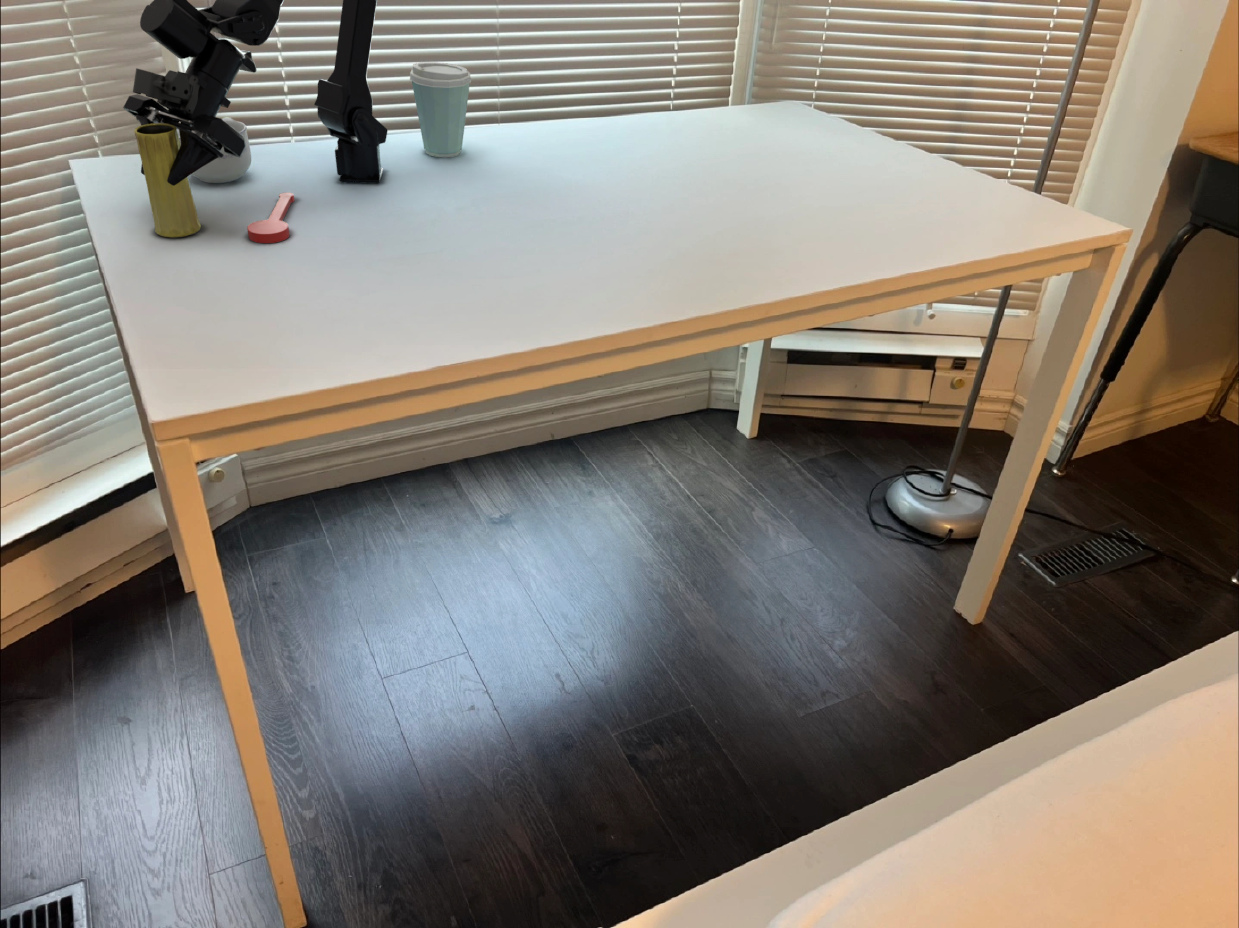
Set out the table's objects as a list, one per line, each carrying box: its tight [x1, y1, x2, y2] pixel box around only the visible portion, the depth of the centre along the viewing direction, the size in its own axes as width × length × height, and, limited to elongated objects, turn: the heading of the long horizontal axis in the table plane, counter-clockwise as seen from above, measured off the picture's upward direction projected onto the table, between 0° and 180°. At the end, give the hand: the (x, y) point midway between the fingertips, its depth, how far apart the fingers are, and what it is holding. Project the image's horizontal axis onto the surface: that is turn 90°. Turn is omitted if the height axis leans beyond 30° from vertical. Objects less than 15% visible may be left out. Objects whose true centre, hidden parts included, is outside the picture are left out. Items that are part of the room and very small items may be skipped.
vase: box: [133, 123, 202, 238], centre depth 132 cm, size 6×6×14 cm
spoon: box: [246, 191, 296, 244], centre depth 142 cm, size 6×18×1 cm, turn 6°
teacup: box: [177, 117, 252, 184], centre depth 154 cm, size 14×11×8 cm
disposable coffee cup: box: [409, 61, 472, 158], centre depth 168 cm, size 11×11×15 cm
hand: (157, 179), depth 131 cm, fingers closed on vase, 5 cm apart
